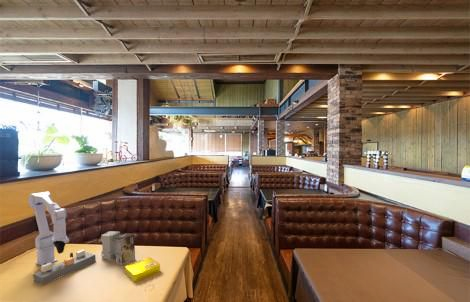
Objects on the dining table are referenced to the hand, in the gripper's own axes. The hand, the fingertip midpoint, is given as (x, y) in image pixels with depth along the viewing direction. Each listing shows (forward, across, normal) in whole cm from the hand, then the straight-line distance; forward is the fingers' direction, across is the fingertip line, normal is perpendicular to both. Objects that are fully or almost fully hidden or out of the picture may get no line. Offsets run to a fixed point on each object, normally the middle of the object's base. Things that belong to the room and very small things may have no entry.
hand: (60, 252), depth 138 cm
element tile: (+10, +49, +16) cm, 52 cm away
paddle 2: (+5, +4, +9) cm, 11 cm away
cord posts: (+9, -2, 0) cm, 10 cm away
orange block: (+5, +8, 0) cm, 10 cm away
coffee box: (+9, +29, +21) cm, 37 cm away
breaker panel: (+9, +6, 0) cm, 11 cm away
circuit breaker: (+9, +17, +23) cm, 30 cm away
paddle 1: (+5, +4, -9) cm, 11 cm away
